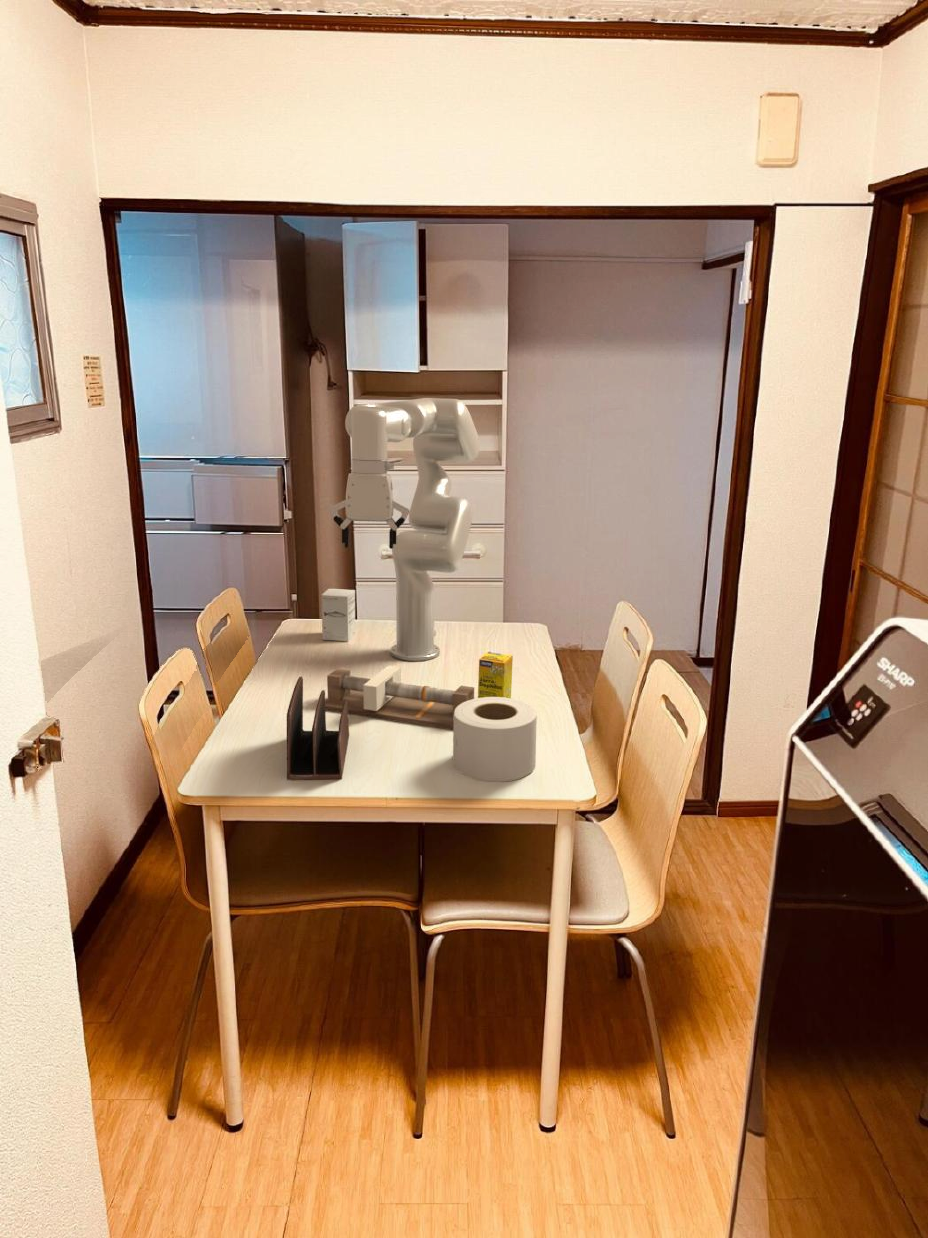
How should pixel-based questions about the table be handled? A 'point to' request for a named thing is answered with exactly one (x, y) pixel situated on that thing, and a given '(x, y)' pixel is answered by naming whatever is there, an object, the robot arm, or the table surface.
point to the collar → (380, 688)
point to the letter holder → (314, 741)
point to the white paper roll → (494, 739)
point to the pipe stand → (397, 700)
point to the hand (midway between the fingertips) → (369, 547)
